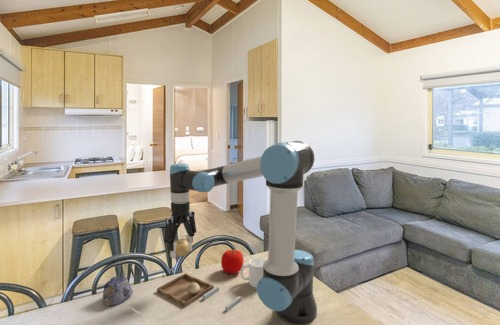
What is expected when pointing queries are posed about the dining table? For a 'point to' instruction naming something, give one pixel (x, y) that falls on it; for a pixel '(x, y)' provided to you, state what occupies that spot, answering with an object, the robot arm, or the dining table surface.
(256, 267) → the cup
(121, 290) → the rock
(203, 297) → the cradle
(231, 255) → the tomato
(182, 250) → the onion
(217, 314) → the dining table surface
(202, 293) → the tray
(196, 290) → the ball
